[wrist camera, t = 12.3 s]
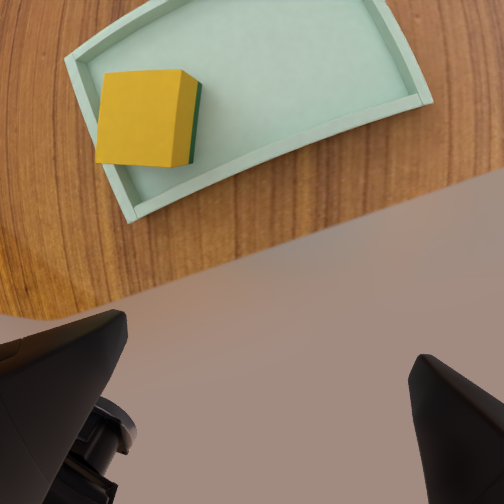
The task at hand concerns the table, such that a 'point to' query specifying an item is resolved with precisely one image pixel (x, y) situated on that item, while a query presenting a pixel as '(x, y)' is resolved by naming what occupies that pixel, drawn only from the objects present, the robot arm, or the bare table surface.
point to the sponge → (148, 118)
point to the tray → (251, 81)
